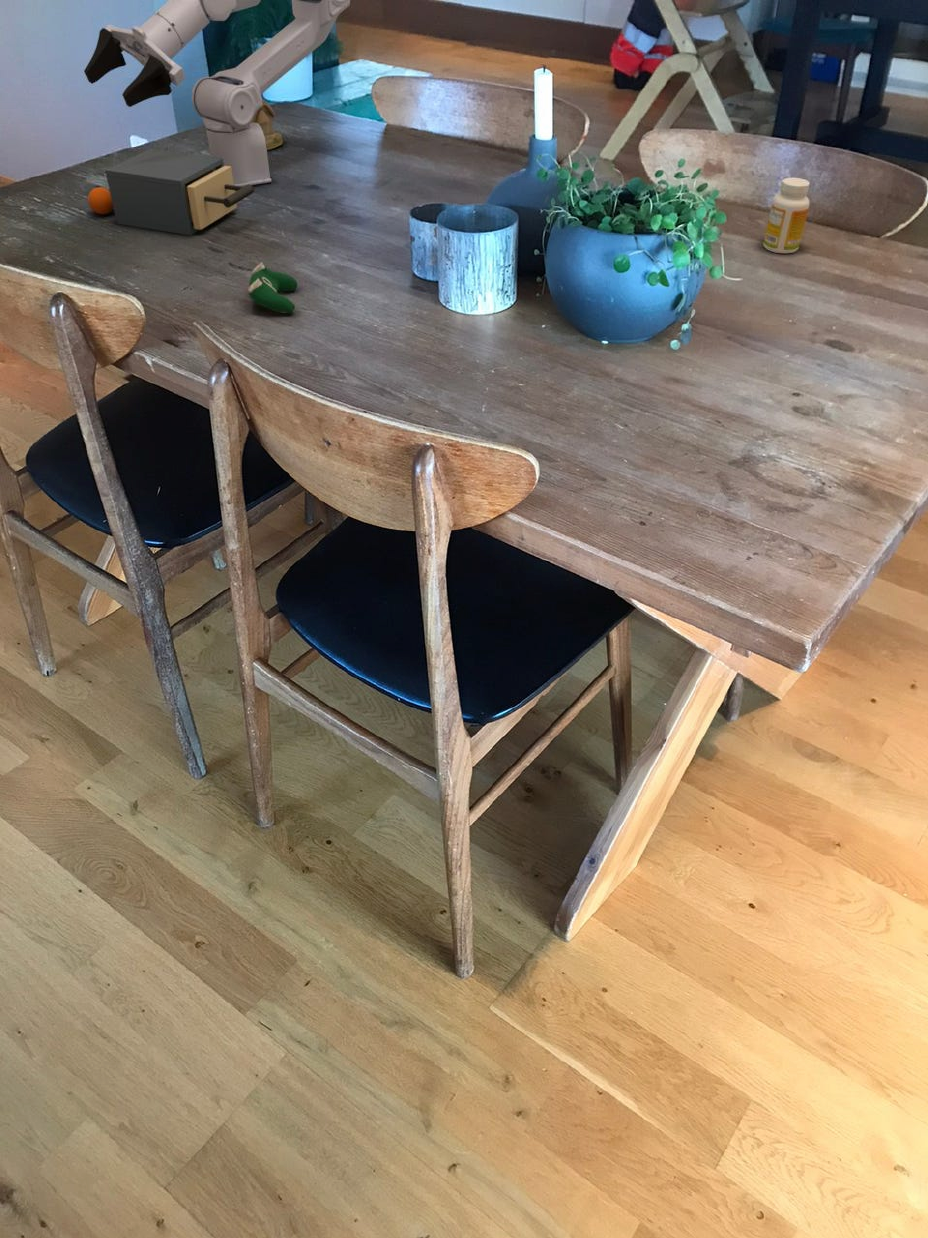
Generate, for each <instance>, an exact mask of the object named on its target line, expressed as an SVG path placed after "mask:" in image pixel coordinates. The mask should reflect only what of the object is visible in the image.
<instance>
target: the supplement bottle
mask: <svg viewBox="0 0 928 1238" xmlns="http://www.w3.org/2000/svg"><path fill="white" fill-rule="evenodd" d="M810 183H811V182H810V181H809V180H807V179H804V178H801V177H786V178H783V179H782V180H781V184H780V186H779V187H780V189H779V191H780V193H777V194H776V195H774V197H773V198H772V202H771V207H770V211H769V217H768V219H767V225H766V230H765V234H764V239H763V244H762V245H763V248H764V249H766V250H768V251H769V252H771V253H772V252H773V253H776V254H792V253H795V252H797V251H798V250H799V248H800V245H801V241H802V236H803V233H804V228H805V225H806V221H807V218H808V217H807V216H808V214H809V213H808V212H809V209H810V204H811V203H810V202H811V201H810V199H809V198H808V196H806V195H807V194H808V192H809V189H810Z"/></svg>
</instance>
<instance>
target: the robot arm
mask: <svg viewBox="0 0 928 1238" xmlns="http://www.w3.org/2000/svg"><path fill="white" fill-rule="evenodd" d="M260 3H261V0H167V1H166V2H165V3H164V4H163V5H162V6H161V7H160V8H159V9H158V10H156V11H155V13H154V14H153V15H151V16H150V17H149V18H148V19H147V20H146V21H145V22H143V24H142V25H140V26H138V25H134V26H132V28H131V29H127V28H122V27H118V26H115V25H113V24H111V23H109V24H108V25H107V26H105V28H104V27H103V28H101V29H99V33H98V38H97V43H96V46H95V49H94V50H93V51H94V52H93V54H92V56H91V58H90V59H89V62H88V63H87V65H86V67H85V68H84V70H83V71H84V75H85V78H86V79H87V81H88V83H90V84H91V85H93V84H95V83H97V82H98V81H99V80H101V79H102V78H103V77H104V76H105V75H107V74H109V73H110V72H111V71H112V72H113V71H114V70H115V69H118V68H122V67H126V66H127V62H126V60H125V57H124V55H123V52H125V53H127V54H129V55H130V56H131V57H133V59H135V60H137V62H138V63H140V64H141V65H142V66H143V68H142V69H141V71H140V72H139V74H138V75H137V76H136V78H134V79H133V81H132V82H131V83H129V85H128V86H127V87H126V88H125V89H124V90H123V92H122V94H121V95H122V98H123V100H124V102H125V104H126V106H127V107H128V108H131V107H134V106H136V105H137V104H138V105H139V104H140V103H142V102H144V101H146V100H148V99H153V98H155V97H161V96H169V95H170V94H171V93H172V91H173V90H172V88H171V85H172V84H173V86H174V85H175V86H176V87H178V86H179V85H180V84H181V83H182V82H183V81H184V80H185V79H186V76H185V73H184V69H183V68H182V66H180V65H179V64H178V63H176V62H175V61H174V60H173V58H175V56H177V54H179V53H180V52H181V51H182V50H183V49H184V47H186V46H187V45H188V44H189V43H190V42H191V41H192V40H193V39H194V38H195V37H196V36H198V35H199V34H200V33H201V31H203V29H205V28H206V27H207V26H208V25H209V24H210V23H211V22H210V21H214V22H224V21H226V20H227V19H228V18H229V17H230V15H231V14H232V13H235V12H239V11H242V10H246V9H249V8H252V7H256V6H258V5H259V4H260ZM350 4H351V0H291V9H292V15H293V16H294V19H293V20H292V21H291V22H290V23H289V24H287V25H286V26H285V27H284V28H282V29H281V30H280V31H279V32H278V33H276V34H275V35H273V36H272V37H271V38H270V39H269V40H268V41H267V42H265V43H264V44H263V45H262V46H260V47H259V48H258V49H257V50H255V51H254V52H253V53H252V54H251V55H249V56H248V57H247V58H245V59H244V60H243V61H242V62H240V63H239V64H238V65H237V66H235V67H233V68H228V69H224V70H222V71H221V70H220V71H218V72H216V73H215V74H214V75H211V76H205V77H201V78H199V79H198V80H197V81H196V82H195V84H194V85H193V88H192V92H191V102H192V107H193V110H194V111H195V112H196V114H197V115H198V116H199V117H200V118H201V120H202V124H203V125H204V126H205V132H206V137H207V143H208V151H209V156H210V157H217V158H223V164H224V166H230V167H231V169H232V176H233V183H234V185H235V186H242V187H245V186H246V185H252V186H255V185H256V186H257V185H262V184H268V183H272V182H273V179H272V178H271V174H270V165H269V158H268V157H269V156H268V150H267V149H266V142H265V137H264V134H263V131H262V129H261V127H260V125H259V124H258V123H251V122H252V120H253V118H254V115H255V113H256V112H257V110H258V109H259V108H261V107H262V99H263V96H262V95H263V93H265V92H266V91H267V90H268V89H270V88H271V87H272V86H274V84H275V83H277V82H278V81H279V80H280V79H282V78H283V77H284V76H285V75H286V74H288V73H289V72H290V71H291V70H292V69H293V68H294V67H296V66H297V65H298V64H299V63H301V62H302V61H303V60H304V59H305V58H307V57H308V56H309V55H311V53H313V52H314V51H315V50H316V49H317V48H318V47H320V46H321V45H322V44H323V43H324V42H325V41H326V40H327V38H328V36H329V35H330V33H331V31H332V29H333V27H334V25H335V23H336V21H337V19H338V17H339V15H340V14H341V13H342V12H343V11H344V10H346V9H347V8H348V7H349V6H350Z"/></svg>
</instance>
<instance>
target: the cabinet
mask: <svg viewBox="0 0 928 1238" xmlns="http://www.w3.org/2000/svg"><path fill="white" fill-rule="evenodd" d="M223 166H224V164H223V158H217V157H210V155H209V156H208V155H203V154H196V153H195V154H194V153H186V152H182V151H181V152H180V151H172V150H165V149H158V148H149V149H146V150H144V151H143V152H140V153H138V154H136V155H134V156H132V157H129V158H127V159H126V160H123V161H121V162H119V163H117V164H115V165H113V166H111V167H108V168H106V169H105V170H104V173H105V175H106V176H105V177H106V180H107V185H108V191H109V192H110V194H111V198H112V202H113V206H114V209H113V211H114V214H115V215H114V216H115V218H116V223H117V224H118V225H123V226H129V227H136V228H141V229H142V228H143V229H148V230H154V231H159V232H161V231H162V232H167V233H173V234H180V235H186V236H192V235H194V234H195V233H197V232H199V231H200V230H199V229H194V224H193V222H192V223H191V219H190V214H189V209H188V203H187V198H186V192H185V187H184V185H185V184H186V183H188V182H190V181H192V180H194V179H196V178H197V177H199V176H201V175H203V174H205V173H207V172H208V171H210V170H212V169H214V168H216V170H218V169H220V168H222V167H223Z"/></svg>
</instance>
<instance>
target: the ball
mask: <svg viewBox="0 0 928 1238" xmlns="http://www.w3.org/2000/svg"><path fill="white" fill-rule="evenodd" d="M88 205H89V206H90V208H91V210H93V211H94V212H95V213H97V214H99V215H108V214H111V212H113V211H114V206H113V202H112V198H111V194H110V190H109V189H106V188H104V187H101V186H99V187H95V188H93V189H91V191H90V192H89V193H88Z"/></svg>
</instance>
